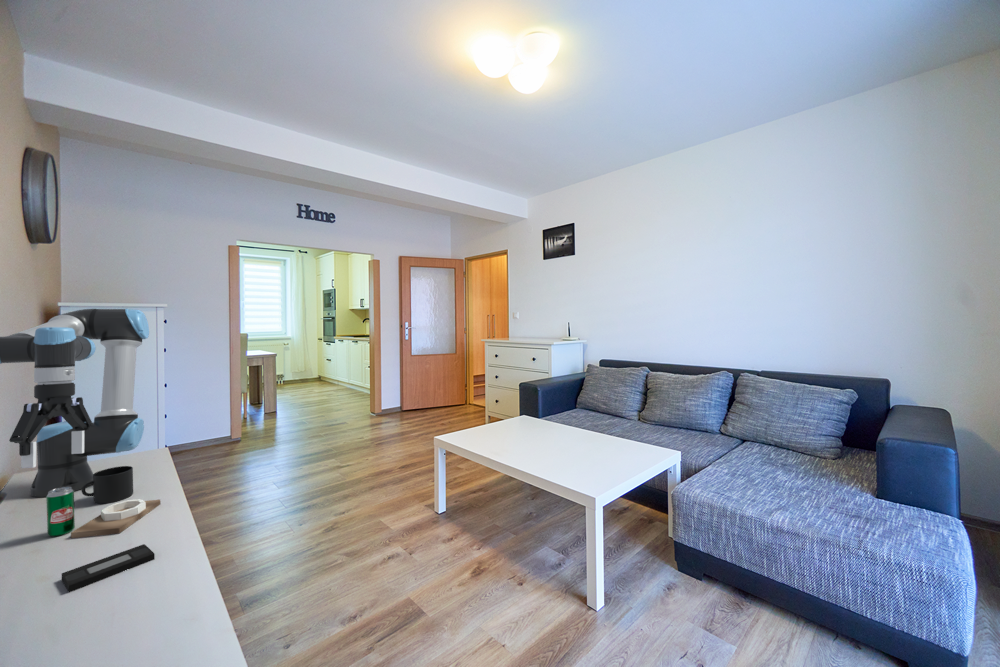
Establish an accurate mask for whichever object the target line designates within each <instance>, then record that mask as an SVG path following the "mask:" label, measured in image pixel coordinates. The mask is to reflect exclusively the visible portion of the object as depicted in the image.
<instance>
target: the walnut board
mask: <svg viewBox="0 0 1000 667" xmlns="http://www.w3.org/2000/svg"><path fill="white" fill-rule="evenodd" d="M144 501H145V502H146V509H144V510H143V511H142V512H140V513H139V514H137V515H134V516H130V517H127V518H124V519H120V520H111V521H104V520H103V519H102V518H101V514H99V515H98V516H96V517H95V518H92V519H91V520H90V521H88V522H87V523H85V524H83V525H81V526H80V527H78V528H76V529H74V530H72V531H71V532H70V538H71V539H76V538H77V539H78V538H87V537H98V536H106V535H107V536H108V535H116V534H117V535H119V534H121V533H122V532H123V531H125V530H127V529H128V528H129V527H131V526H133V524H135V523H136V522H138V521H139V520H140V519H141V518H143V517H145V516H146V515H147V514H148V513H150V512H152V511H154V510H155V509H156V508H157V507H159V506H160V505H161V499H151V500H149V499H148V500H144ZM133 508H134V507H133ZM127 509H130V508H125V509H122V510H118V511H124V510H127ZM118 511H115V512H118Z"/></svg>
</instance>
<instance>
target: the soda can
mask: <svg viewBox="0 0 1000 667" xmlns="http://www.w3.org/2000/svg"><path fill="white" fill-rule="evenodd" d="M48 493H49V494H48V495H47V496H46V497H45V498H46V500H45V501H46V529H47V533H46V534H47V536H49V537H61V536H64V535H66V534H69V533H71V532H73V531H74V530H75V528H76V525H75V524H76V521H75V520H76V518H75V517H76V516H75V491H74V490H72V487H62V488H57V489H54V490H51V491H49V492H48Z"/></svg>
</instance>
